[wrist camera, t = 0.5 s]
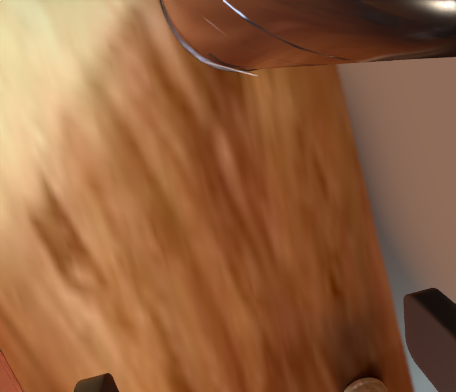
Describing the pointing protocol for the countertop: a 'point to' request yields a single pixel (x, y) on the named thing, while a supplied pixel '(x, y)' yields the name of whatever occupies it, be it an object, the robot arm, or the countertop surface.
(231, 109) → the countertop surface
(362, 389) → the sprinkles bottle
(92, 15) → the countertop surface
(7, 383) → the red tray
